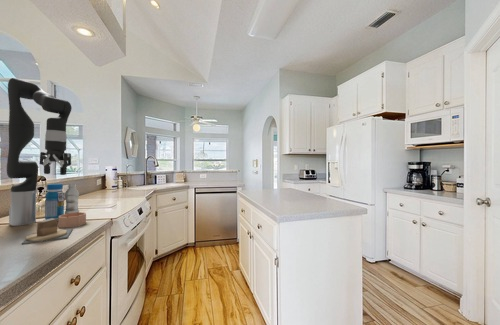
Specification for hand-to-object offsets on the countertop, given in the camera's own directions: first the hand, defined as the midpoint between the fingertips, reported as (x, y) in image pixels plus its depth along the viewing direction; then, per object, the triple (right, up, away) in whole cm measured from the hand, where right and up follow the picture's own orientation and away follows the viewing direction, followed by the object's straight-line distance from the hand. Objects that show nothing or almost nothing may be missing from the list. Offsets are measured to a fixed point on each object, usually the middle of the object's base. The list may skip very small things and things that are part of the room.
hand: (55, 174), depth 103 cm
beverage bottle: (-19, -27, +21) cm, 39 cm away
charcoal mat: (+5, -27, -8) cm, 29 cm away
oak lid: (+5, -26, -9) cm, 28 cm away
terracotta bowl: (0, -27, +11) cm, 29 cm away
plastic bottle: (-10, -27, +22) cm, 37 cm away
